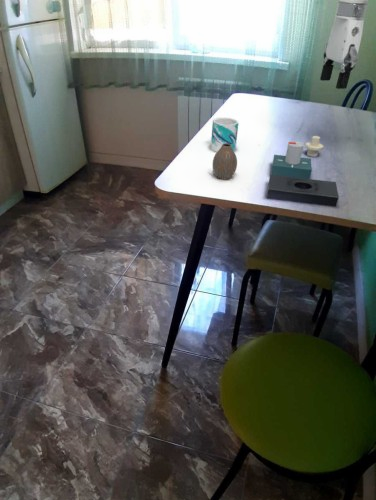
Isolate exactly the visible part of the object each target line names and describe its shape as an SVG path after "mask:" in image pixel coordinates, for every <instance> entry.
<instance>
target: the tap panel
mask: <svg viewBox="0 0 376 500" xmlns="http://www.w3.org/2000/svg"><path fill="white" fill-rule="evenodd" d="M285 158H286V155H282V154H274V155H273V159H272V164H271V173H270V175H278V176H287V177H296V178H304V179H311V174H312V170H313V168H312V167H313V166H312V158H308V157H301V160H300V163H299V164H296V165H293V164H288V163H286V162H285Z"/></svg>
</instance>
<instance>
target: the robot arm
mask: <svg viewBox="0 0 376 500" xmlns="http://www.w3.org/2000/svg"><path fill="white" fill-rule="evenodd" d="M368 3H369V0H338V2H337V6H336V10H335V15H334V20H333V24H332V27H331V30H330V34H329V38H328V41H327V43H326V44H324V48H323V49H324V52H323V61H322V64H323V65H322V69H321V74H320V77H319V81H323V82H324V81H325V82H326V81H331V78H332V75H333V71H334V66H335V64H334V63H337V64H340V70H341V71H339V73H338V77H337V81H336V84H335V88H336V90H337V89H338V90H339V89H340V90H343V89H344V90H345V89H347V87H348V84H349V81H350V77H351V74H352V73H353V70H354V68H355V67H356V64H357V63H358V60H359V58H360V56H359V50H360V46H361V41H362V37H363V33H364V23H365V19H364V18H365V16H366V12H367V8H368Z"/></svg>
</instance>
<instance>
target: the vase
mask: <svg viewBox="0 0 376 500" xmlns="http://www.w3.org/2000/svg"><path fill="white" fill-rule="evenodd" d="M237 168H238V157H237V154H236V153H235V150H234V151H233V149H232V147H231V145H230V144H227V143H225V144H223V145H222V146H221V148H220V149H219V150H218V151H217V152H216V153H215V154H214V156H213V159H212V171H213V173H214V176H215V177H216V178H218V179H219V180H228V179H231V178H232V177H233V176H234V175H235V173H236V171H237Z"/></svg>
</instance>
